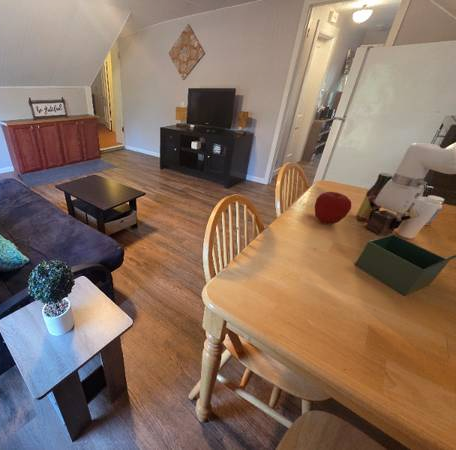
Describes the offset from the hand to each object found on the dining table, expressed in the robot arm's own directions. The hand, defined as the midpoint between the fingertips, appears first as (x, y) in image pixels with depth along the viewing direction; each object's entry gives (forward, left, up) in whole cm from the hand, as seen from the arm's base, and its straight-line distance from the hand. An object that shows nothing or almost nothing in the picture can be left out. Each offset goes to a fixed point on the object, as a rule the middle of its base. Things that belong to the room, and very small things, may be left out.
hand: (382, 223), depth 94 cm
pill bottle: (-2, -25, -4) cm, 25 cm away
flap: (-26, +23, +10) cm, 36 cm away
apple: (+12, +13, -4) cm, 18 cm away
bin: (-18, +23, -4) cm, 29 cm away
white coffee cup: (-6, -7, -4) cm, 10 cm away
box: (0, 0, -3) cm, 3 cm away
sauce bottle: (+8, -5, -4) cm, 10 cm away
